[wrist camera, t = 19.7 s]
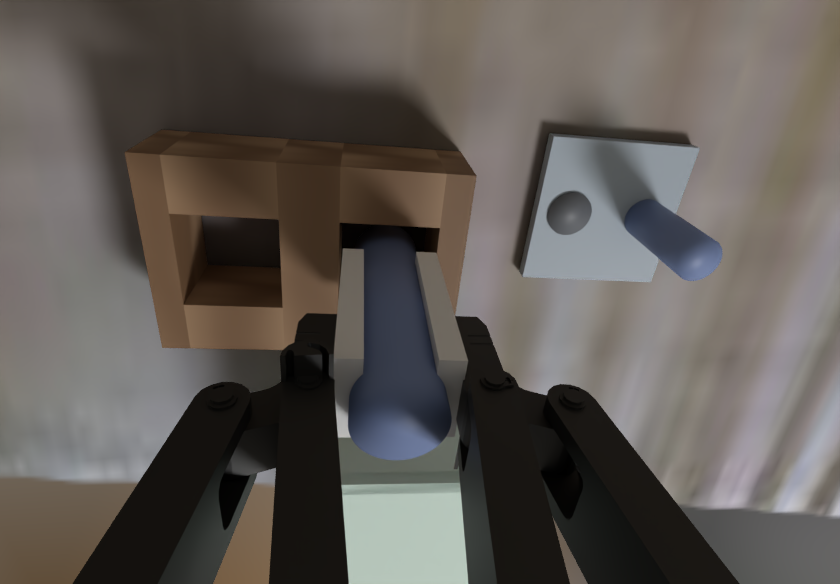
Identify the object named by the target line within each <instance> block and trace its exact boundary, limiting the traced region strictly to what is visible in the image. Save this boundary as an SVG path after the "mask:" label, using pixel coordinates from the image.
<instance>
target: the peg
mask: <svg viewBox="0 0 840 584" xmlns="http://www.w3.org/2000/svg"><path fill="white" fill-rule="evenodd" d="M354 249H364V365H363V374H362V375H361V376H360V377H359V378H358V379H357V381H356V382H355V383H354V385H353V386H352V389H351V391H350V395H349V410H348V431H349V434H350V437H351V439H352V440H353V442H354V443H355V444H356V445H357V446H358V447H359V448H360V449H361V450H362V451H364V452H365V453H367V454H369V455H371V456H374V457H377V458H380V459H385V460H407V459H412V458H416V457H419V456H421V455H424V454H426V453H428V452H430V451H431V450H433V449H434V448H436V447H437V446H438V445H439V444H440V443H441V442H442V441H443V440H444V439H445V438H446V436H447V434H448V433H449V430H450V427H451V423H452V416H451V410H450V405H449V401H448V396H447V392H446V388H445V385H444V383H443V381H442V379H441V378H440V377H439V376H438V375H437V371H436V366H435V361H434V356H433V351H432V346H431V341H430V335H429V330H428V325H427V320H426V315H425V310H424V305H423V300H422V295H421V290H420V285H419V280H418V275H417V270H416V265H415V259H416V248H415V244H414V241H413V239H412V238H411V236H410V235H409V234H408V233H407V232H406V231H405V230H403V229H402V228H400V227H398V226H393V225H375V226H373V227H370V228H369V229H367V230H366V231H364V232H363V233H362V234H361V235H360V237H359V238H358V240H357V241H356V244H355V248H354Z"/></svg>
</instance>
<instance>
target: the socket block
mask: <svg viewBox="0 0 840 584" xmlns="http://www.w3.org/2000/svg"><path fill="white" fill-rule="evenodd" d="M125 157H126V163H127V168H128V173H129V178H130V183H131V188H132V194H133V199H134V204H135V209H136V214H137V219H138V225H139V230H140V235H141V240H142V245H143V250H144V256H145V261H146V266H147V271H148V276H149V281H150V287H151V292H152V297H153V302H154V307H155V312H156V318H157V323H158V328H159V333H160V338H161V343H162V348H205V349H257V350H283V349H285V348H286V347H287V346H288V345H290V344H292V343H294V340H295V335H296V330H297V326H298V322H299V321H300V320H301V319H302V318H303V317H304V315H305V314H306V313H321V314H337V311H338V299H339V288H340V276H341V259H342V223H355V224H374V225H393V226H412V227H426V236H425V245H424V252H433V253H437V257H438V260H439V263H440V267H441V270H442V274H443V277H444V280H445V284H446V287H447V291H448V294H449V297H450V301H451V304H452V308H453V311H454V315H455V312H456V306H457V299H458V293H459V286H460V280H461V273H462V267H463V260H464V254H465V247H466V241H467V234H468V228H469V221H470V215H471V208H472V202H473V195H474V189H475V183H476V174H475V173H474V171H473V170H472V168H471V167H470V165H469V164H468V162H467V161H466V159H465V158H464V156H463V155H462V153H461V152H459V151H445V150H432V149H418V148H405V147H391V146H377V145H364V144H350V143H337V142H323V141H309V140H296V139H282V138H269V137H255V136H242V135H228V134H214V133H201V132H187V131H174V130H160V131H158V132H157V133H155V134H153V135H152V136H150V137H149V138H147V139H145V140H144V141H142V142H140V143H139V144H137V145H135V146H134V147H132V148H131V149H129V150H127V151H126V152H125ZM201 215H203V216H222V217H241V218H260V219H279V237H280V259H281V268H273V267H248V266H223V265H208V264H207V256H206V248H205V240H204V232H203V224H202V216H201Z"/></svg>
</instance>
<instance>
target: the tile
mask: <svg viewBox="0 0 840 584" xmlns="http://www.w3.org/2000/svg"><path fill="white" fill-rule="evenodd" d="M699 149H700V148H699V147H696V146H694V145H689V144H677V143H665V142H652V141H640V140H627V139H615V138H603V137H590V136H578V135H565V134H553V133H549V137H548V142H547V146H546V151H545V155H544V160H543V165H542V169H541V174H540V178H539V183H538V188H537V192H536V197H535V201H534V206H533V211H532V215H531V220H530V224H529V229H528V233H527V238H526V243H525V247H524V252H523V256H522V261H521V266H520V270H519V272H520V273H521V275H522V277H536V278H561V279H586V280H611V281H635V282H651V280H652V277H653V275H654V272H655V269H656V266H657V264H658V261H659V259H660V260H661V261H662V262H663V263H665V264H666V265H667V266H668V267H669V268H670V269H672V270H673V271H674V272H675V273H676V274H677V275H679V276H680V277H681V278H682V279H684V280H688V281H695V280H700V279H702V278H705V277H706V276H708V275H709V274H711V273H712V272H713V271H714V270H715V269H716V268H717V266H718V265H719V263H720V261H721V258H722V248H721V246H720V244H719V243H718V242H717V241H715V240H714V239H712V238H711V237H709V236H708V235H706V234H705V233H703V232H702V231H700V230H699V229H697V228H696V227H694V226H693V225H691V224H690V223H688V222H687V221H685V220H684V219H682V218H681V217H679V216H678V215H676V212H677V209H678V207H679V204H680V201H681V198H682V196H683V193H684V190H685V187H686V185H687V182H688V179H689V177H690V174H691V171H692V168H693V166H694V163H695V160H696V158H697V155H698V152H699Z"/></svg>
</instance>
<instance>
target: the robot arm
mask: <svg viewBox="0 0 840 584" xmlns="http://www.w3.org/2000/svg"><path fill="white" fill-rule="evenodd" d="M415 265H416V270H417V275H418V280H419V285H420V290H421V295H422V300H423V305H424V310H425V315H426V320H427V325H428V330H429V335H430V341H431V346H432V351H433V356H434V361H435V366H436V371H437V375H438V376H439V377H440V378H441V379H442V381H443V383H444V385H445V388H446V392H447V396H448V401H449V405H450V410H451V416H452V423H451V427H450V430H449V433H448V434H447V436H446V437H455V431H456V426H458V430H459V435H460V437H459V443H458V448H457V454H456V459H455V465H454V469H458V465H459V477H460V489H461V501H462V513H463V525H464V537H465V549H466V561H467V573H468V584H570V582H569V578H568V574H567V571H566V567H565V563H564V559H563V556H562V551H561V548H560V544H559V540H558V536H557V532H556V528H555V525H554V521H553V518H554V520H555V522H556V523H557V526H558V528H559V530H560V531H561V533H562V535H563V537H564V539H565V541H566V543H567V545H568V547H569V549H570V551H571V552H572V554H573V556H574V558H575V560H576V562H577V564H578V566H579V568H580V570H581V572H582V573H583V575H584V577H585V579H586V581H587V583H588V584H739V583H738V581H737V580H736V579H735V577H734V576H733V575H732V574H731V572H730V571H729V570H728V568H727V567H726V566H725V565H724V564H723V562H722V561H721V560H720V558H719V557H718V556H717V554H716V553H715V552H714V551H713V549H712V548H711V547H710V546H709V544H708V543H707V542H706V541H705V539H704V538H703V537H702V535H701V534H700V533H699V531H698V530H697V529H696V528H695V527H694V525H693V524H692V523H691V521H690V520H689V519H688V517H687V516H686V515H685V514H684V512H683V511H682V510H681V508H680V507H679V506H678V505H677V503H676V502H675V501H674V500H673V498H672V497H671V496H670V494H669V493H668V492H667V491H666V489H665V488H664V487H663V485H662V484H661V483H660V482H659V480H658V479H657V478H656V477H655V475H654V474H653V473H652V471H651V470H650V469H649V468H648V466H647V465H646V464H645V462H644V461H643V460H642V459H641V457H640V456H639V455H638V454H637V452H636V451H635V450H634V448H633V447H632V446H631V445H630V443H629V442H628V441H627V440H626V438H625V437H624V436H623V434H622V433H621V432H620V431H619V429H618V428H617V427H616V425H615V424H614V423H613V422H612V420H611V419H610V418H609V417H608V415H607V414H606V413H605V411H604V410H603V409H602V408H601V406H600V405H599V404H598V402H597V401H596V400H595V399H594V398H593V397H592V396H591V395H590V394H589V393H588V392H586V391H585V390H583V389H581V388H579V387H576V386H572V385H564V384H560V385H556V386H553V387H552V388H551V389H550V390H549V391H548V394H547V395H542V394H538V393H534V392H530V391H527V390H524V389H522V388H520V387H518V384H517V382H516V380H515V378H514V377H512V376H511V375H510V374H509V373H507V372H505V371H503V368H502V365H501V363H500V360H499V358H498V355H497V352H496V350H495V347H494V345H493V342H492V339H491V337H490V334H489V332H488V329H487V326H486V325H485V324H484V323H483V322H482V321H481V320H480V319H479V318H477V317H461V316H455V315H454V311H453V308H452V304H451V301H450V297H449V294H448V291H447V287H446V284H445V280H444V277H443V274H442V270H441V267H440V263H439V260H438V257H437V253H433V252H416V259H415ZM280 363H281V382H280V383H279V384H277V385H275V386H273V387H271V388H269V389H266V390H262V391H258V392H253V393H249V390H248V389H247V388H246V387H245V386H243V385H242V384H238V383H234V382H220V383H217V384H213V385H210V386H208V387H206V388H204V389H202V390H201V391H200V392H199V393H198V394H197V395H196V396H195V397H194V399H193V400H192V402H191V403H190V405H189V406H188V408H187V409H186V411H185V412H184V414H183V416H182V417H181V419H180V420H179V422H178V423H177V425H176V426H175V428H174V429H173V431H172V432H171V434H170V435H169V437H168V438H167V440H166V442H165V443H164V445H163V446H162V448H161V449H160V451H159V452H158V454H157V455H156V457H155V458H154V460H153V461H152V463H151V464H150V466H149V468H148V469H147V471H146V472H145V474H144V475H143V477H142V478H141V480H140V481H139V483H138V484H137V486H136V487H135V489H134V491H133V492H132V494H131V495H130V497H129V498H128V500H127V501H126V503H125V504H124V506H123V507H122V509H121V510H120V512H119V514H118V515H117V516H116V518H115V520H114V521H113V523H112V524H111V526H110V527H109V529H108V530H107V532H106V533H105V535H104V536H103V538H102V539H101V541H100V542H99V544H98V546H97V547H96V549H95V551H94V552H93V553H92V555H91V556H90V558H89V559H88V561H87V562H86V564H85V565H84V567H83V569H82V570H81V571H80V573H79V575H78V576H77V578H76V579H75V581H74V582H73V584H213V582H214V580H215V577H216V575H217V572H218V570H219V567H220V565H221V563H222V560H223V557H224V555H225V553H226V550H227V548H228V545H229V543H230V540H231V538H232V536H233V533H234V530H235V528H236V526H237V523H238V521H239V518H240V516H241V513H242V511H243V508H244V506H245V504H246V501H247V499H248V496H249V494H250V491H251V489H252V486H253V484H254V481H255V479H256V476H257V473H258V472H262V471H266V470H269V469H273V468H276V479H275V496H274V512H273V527H272V544H271V559H270V575H269V584H349V579H348V565H347V552H346V539H345V525H344V512H343V498H342V485H341V472H340V458H339V445H338V438H340V437H350V434H349V431H348V410H349V395H350V391H351V389H352V386H353V385H354V383H355V382H356V381H357V379H358V378H359V377H360V376H361V375H362V374H363V365H364V249H346V248H343V253H342V265H341V276H340V288H339V299H338V311H337V314H321V313H306V314H305V315H304V317H303V318H302V319H301V320H300V321H299V322H298V326H297V330H296V335H295V340H294V343H292V344H290V345H288V346H287V347H286V348H285V349H283V350H282V353H281V355H280ZM552 516H553V517H552Z"/></svg>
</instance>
